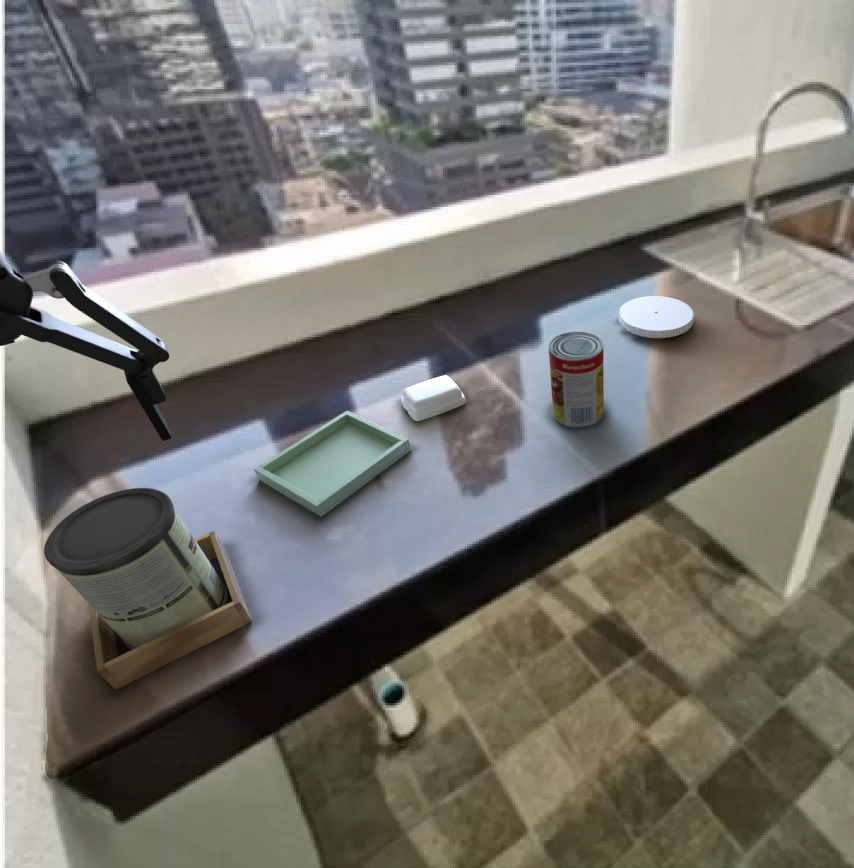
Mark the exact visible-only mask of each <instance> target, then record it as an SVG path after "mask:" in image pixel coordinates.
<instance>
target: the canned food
mask: <svg viewBox="0 0 854 868" xmlns="http://www.w3.org/2000/svg"><path fill="white" fill-rule="evenodd" d="M548 360H549V371H550V372H549V374H550V389H551V390H550V391H551V402H552V415H553V417H554V419H555V421H557V422H558V423H559V424H560V425H563V426H565V427H570V428H576V429H577V428H579V429H580V428H585V427H591V426H593V425H595V424H596V423H598V422H599V421H600V420H601V419H602V417H603V416H604V412H605V411H604V409H605V408H604V407H605V405H604V394H605V393H604V391H605V389H604V379H605V377H604V373H605V372H604V371H605V370H604V342H603V340H602V339H601V338H600V337H599V336H597V335H595V334H593V333H591V332H586V331H568V332H563V333H561V334H558V335H556V336H554V337H553V338H552V339H551V340H550V341H549V343H548Z"/></svg>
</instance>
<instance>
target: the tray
mask: <svg viewBox="0 0 854 868" xmlns="http://www.w3.org/2000/svg"><path fill="white" fill-rule="evenodd" d="M411 446H412V445H411V443H410V439H409V438H407V437H405V436H403V435H400V434H398V433H396V432H394V431H392V430H391V429H389V428H385V427H383V426H381V425H379V424H377V423H375V422H373V421H371V420H369V419H366V418H365V417H362V416H360V415H357V414H356V413H354V412H352V411H350V410H346V411H344V412H343V413H340V414H339V415H337V416H336V417H334V418H333V419H331V420H330V421H327V422H326V423H325V424H323V425H322V426H320V427H319V428H317V429H316V430H314V431H312V432H310V433H309V434H307V435H306V436H305V437H302V438H301V439H300V440H298V441H297V442H295V443H293V444H292V445H290V446H288V447H287V448H285V449H284V450H281V452H279V453H277V454H276V455H273V456H272V457H271V458H270V459H267V460H266V461H265V462H263V463H262V464H260V465H258V466H256V467H254V469H253V471H254V473H255V475H256V477H257V479H258V480H259V481H260V482H262V483H263V484H265V485H267V486H269V487H270V488H272V489H273V490H275V491H277V492H279V493H280V494H281V495H283V496H285V497H287V498H288V499H290V500H292V501H293V502H295V503H297V504H299V505H300V506H302V507H303V508H305V509H307V510H309V511H310V512H312V513H314V514H315V515H317V516H319V517H320V518H322V517H324V516H325V515H326V514H328V513H329V512H330V511H332V510H333V509H334V508H336V507H337V506H338V505H340V504H341V503H342V502H344V501H345V500H346V499H348V498H349V497H350V496H352V495H353V494H354V493H356V492H357V491H358V490H360V489H362V487H364V486H365V485H366V484H368V483H370V482H371V481H372V480H373V479H374V478H376V477H377V476H379V475H380V474H382V473H383V472H384V471H385V470H386V469H388V468H389V467H391V466H392V465H393V464H394V463H396V462H397V461H398V460H400V459H401V458H402V457H404V456H405V455H406V454H408V453H409V452H410V451H412V447H411Z"/></svg>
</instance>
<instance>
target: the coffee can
mask: <svg viewBox="0 0 854 868" xmlns="http://www.w3.org/2000/svg"><path fill="white" fill-rule="evenodd" d="M195 539H196V538H194V536H193V534H192V533H191V531H190V530H189V528H188V527H187V525H186V524H185V522H184V521H183V520H182V518H181V516H180V514H179V513H178V512H177V510H176V509H175V506H174V503H173V501H172V499H171V498H170V497H169V495H167V494H166V493H165V492H163V491H161V490H159V489H157V488H152V487H134V488H127V489H122V490H118V491H114V492H111V493H108V494H105V495H102V496H100V497H97V498H94V499H93V500H91V501H89V502H87V503H85V504H83V505H81V506H80V507H78V508H77V509H75V510H74V511H72V512H71V513H69V514H68V515H67V516H65V518H63V519H61V521H60V522H59V523H58V524H57V525H56V526H54V529H53V530H52V531H51V532H50V533H49V535H48V537H47V538H46V541H45V543H44V548H43V555H44V558H45V559H46V561H47V562H48V563H49V565H50V566H52V567H53V568H54V569H55V570H57V571H58V572H59V573H60V574H61V575H62V576H63V577H64V578H65V579H66V581H68V582H69V583H70V585H71V586H72V587H73V588H74V589H75V590H76V591H77V592H78V593H79V595H81V597H82V598H83V599H84V600H85V601H86V602H87V603H89V604H90V605H91V606H92V607H93V608H94V610H95V611H96V612H97V613H98V614H99V615H100V616H101V617H102V618H103V619H104V620H105V622H106V623H107V624H108V625H109V626H110V627H111V628H112V629H113V630H114V633H115V634H117V636H118V637H119V638H120V639H121V640H122V641H123V643H124V645H125V646H126V647H127V648H128V649H129V650H130V651H131V650H133V649H135V648H137V647H139V646H141V645H143V644H146V643H148V642H150V641H152V640H154V639H156V638H158V637H160V636H162V635H164V634H166V633H168V632H170V631H172V630H175V629H177V628H179V627H181V626H183V625H185V624H187V623H189V622H191V621H193V620H195V619H197V618H199V617H202V616H204V615H206V614H208V613H210V612H212V611H214V610H216V609H218V608H220V607H222V606H224V605H226V604H228V603H227V602H228V597H229V595H228V587H227V584H226V583H225V582H224V581H223V579H221V577H220V576H219V574H218V573H217V571H216V570H215V568H214V567H213V565H212V563H211V562H210V561H208V559H207V558H206V556H205V554H204V553H203V551H202V550H201V548H200V547H199V545H198V544H197V542H196V541H195ZM89 604H88V605H89Z"/></svg>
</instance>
